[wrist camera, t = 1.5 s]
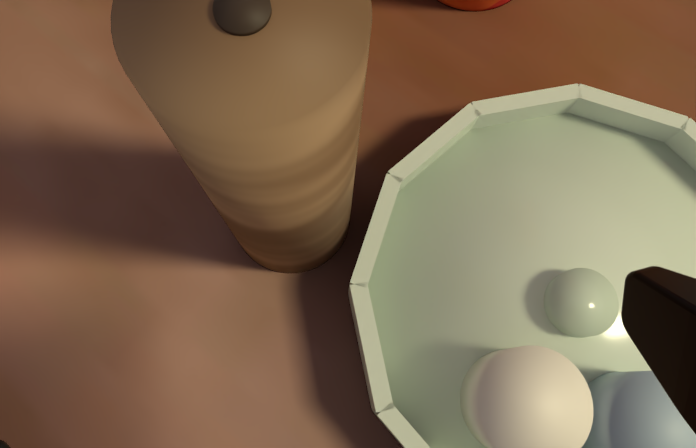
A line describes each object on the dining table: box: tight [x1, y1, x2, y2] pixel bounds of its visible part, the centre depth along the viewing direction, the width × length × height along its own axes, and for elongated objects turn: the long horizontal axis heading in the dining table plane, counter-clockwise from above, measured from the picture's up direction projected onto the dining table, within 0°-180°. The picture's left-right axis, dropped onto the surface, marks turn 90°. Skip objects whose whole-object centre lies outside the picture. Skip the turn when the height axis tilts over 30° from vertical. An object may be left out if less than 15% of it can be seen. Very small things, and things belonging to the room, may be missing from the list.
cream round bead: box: [460, 345, 593, 448], centre depth 18 cm, size 4×4×2 cm
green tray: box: [348, 83, 696, 448], centre depth 20 cm, size 16×16×2 cm
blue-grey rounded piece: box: [582, 371, 696, 448], centre depth 18 cm, size 4×4×2 cm
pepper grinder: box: [111, 0, 372, 273], centre depth 16 cm, size 4×4×13 cm
